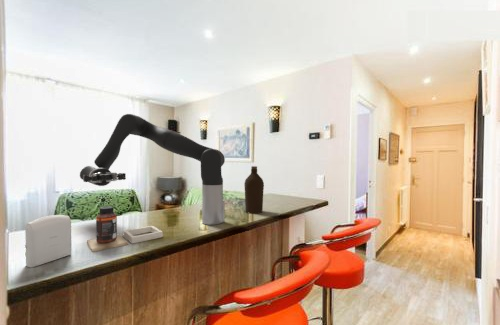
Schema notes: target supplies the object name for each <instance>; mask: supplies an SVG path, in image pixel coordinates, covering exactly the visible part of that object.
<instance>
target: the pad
mask: <svg viewBox="0 0 500 325" xmlns="http://www.w3.org/2000/svg"><path fill="white" fill-rule="evenodd" d="M86 243H87V245H88V247H89V248H90V250H91V252H98V251H102V250H108V249H113V248H117V247H122V246H123V247H124V246H127V245H129V242H128V240H127V239H126V238H125V237H124V236H122V235H121V234H117V239H116V240H115V241H113V242H109V243H98V242H97V240H96V238H93V239H91V238H90V239H86Z"/></svg>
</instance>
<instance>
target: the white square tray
mask: <svg viewBox="0 0 500 325" xmlns="http://www.w3.org/2000/svg"><path fill="white" fill-rule="evenodd" d="M163 234H164V231H162V230H161V229H159V228H157V227H156V226H154V225H149V226H143V227H136V228H130V229H126V230H123V238H124V239H125V240H126V241H127V242H128V241H129V242H130V244H135V243H141V242H146V241H150V240H151V241H152V240H155V239H160V238H163Z"/></svg>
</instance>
